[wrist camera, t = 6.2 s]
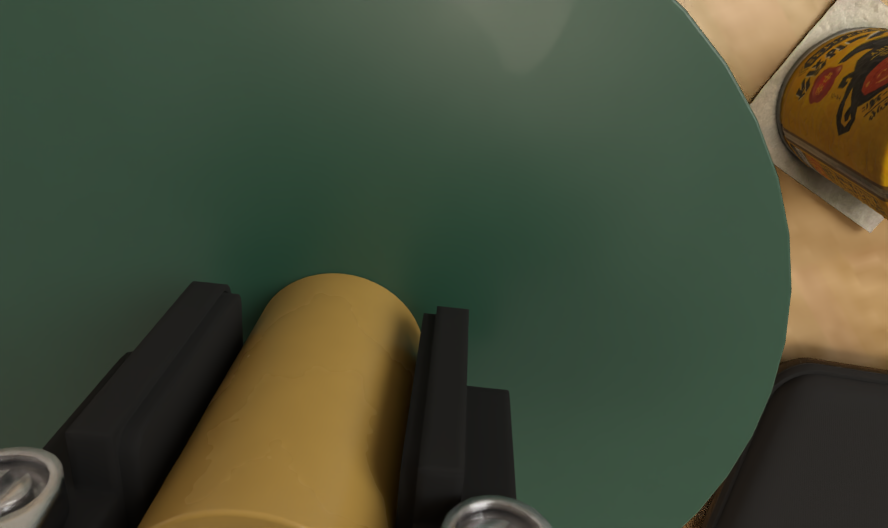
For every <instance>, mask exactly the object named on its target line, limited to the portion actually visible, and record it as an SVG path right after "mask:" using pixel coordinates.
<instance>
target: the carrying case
mask: <svg viewBox="0 0 888 528" xmlns="http://www.w3.org/2000/svg"><path fill="white" fill-rule="evenodd" d="M701 528H888V371H887V370H881V369H875V368H868V367H862V366H856V365H849V364H843V363H837V362H830V361H824V360H818V359H811V358H798V359H793V360H790V361H787V362H784V363H781V364H779V367H778V371H777V375H776V378H775V382H774V386H773V389H772V392H771V394H770V397H769V399H768V401H767V404H766V406H765V408H764V411H763V413H762V415H761V417H760V420H759V422H758V424H757V427H756V429H755V431H754V433H753V436H752V437H751V439H750V441H749V442H748V444H747V445H746V447H745V449H744V450H743V452H742V454H741V455H740V457H739V458H738V460H737V462H736V463H735V465H734V467H733V468H732V470H731V471H730V473H729V475H728V476H727V477H726V479H725V480H724V481H723V482H722V484H721V485H720V486H719V487H718V489H717V490H716V491H715V494H714V496H713V499H712V501H711V504H710V506H709V508H708V511H707V513H706V516H705V518H704V521H703V523H702V525H701Z"/></svg>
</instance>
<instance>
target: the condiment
mask: <svg viewBox="0 0 888 528" xmlns="http://www.w3.org/2000/svg"><path fill="white" fill-rule="evenodd" d="M750 107H751V109H752V110H753V112H754V114H755V116H756V118H757V120H758V122H759V125H760V128H761V131H762V133H763V136H764V139H765V142H766V144H767V147H768V150H769V153H770V155H771V158H772V161H773V164H774V165H775V166H777V167H778V168H780V169H781V170H783V171H784V172H785V173H787V174H788V175H790V176H791V177H792V178H794V179H795V180H797V181H798V182H799V183H801V184H802V185H804V186H805V187H806V188H808V189H809V190H811V191H812V192H813V193H815V194H816V195H818V196H819V197H821V198H822V199H823V200H825V201H826V202H827V203H829V204H830V205H832V206H833V207H835V208H836V209H837V210H839V211H840V212H842V213H843V214H844V215H846V216H847V217H849V218H850V219H852V220H853V221H854V222H856V223H857V224H858V225H860V226H861V227H863V228H864V229H866V230H867V231H868V232H870V233H871V232H872V231H873V230H874V228H875V227H876V226H877V225H878V224H879V223H880V222H881V221H882V220H883V219H884V218H886V219H887V220H888V6H886V5H885V4H884V3H883V2H882V1H881V0H837V1H836V2H835V4H834V5H833V6H832V7H830V9H829V10H828V11H827V13H826V14H825V15H824V16H823V17H822V19H821V20H820V21H819V22H818V23H817V24H816V25H815V26H814V28H813V29H812V30H811V31H810V32H809V33H808V34H807V36H806V37H805V38H804V39H803V41H802V42H801V43H800V44H799V45H798V46H797V47H796V49H795V50H794V51H793V52H792V53H791V55H790V56H789V57H788V58H787V60H786V61H785V62H784V63H783V64H782V66H781V67H780V68H779V69H778V70H777V72H776V73H775V74H774V75H773V76H772V78H771V79H770V80H769V81H768V82H767V84H766V85H765V86H764V87H763V88H762V90H761V91H760V93H759V94H758V95H757V96H756V97H755V99H754V100H753V102H752V103H751V104H750Z"/></svg>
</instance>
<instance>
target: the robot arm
mask: <svg viewBox="0 0 888 528" xmlns="http://www.w3.org/2000/svg"><path fill="white" fill-rule="evenodd" d="M468 329H469V309H463V308H453V307H443V306H437V312H436V314H429V313H424V314H423V320H422V327H421V333H420V340H419V347H418V353H417V360H416V367H415V373H414V380H413V387H412V393H411V400H410V407H409V413H408V420H407V426H406V433H405V440H404V446H403V453H402V461H401V469H400V479H399V489H398V501H397V513H396V525H395V528H552V527H551V525H550V523H549V522H548V520H547V519H545V518H544V517H543V516H542V515H541V514H540V513H539V512H538V511H537V510H536V509H534V508H532V507H531V506H529V505H527V504H525V503H523V502H522V501H519V500H517V498H516V484H515V469H514V454H513V439H512V424H511V409H510V396H509V391H508V390H504V389H494V388H485V387H475V386H467V364H468ZM242 347H243V328H242V303H241V297H240V295H239V294H233V293H231V290H230V287H229V286H228V284H218V283H209V282H199V281H193V282H192V283H190V285H189V286H188V287H187V288H186V289H185V290H184V292H183V293H182V294H181V295H180V296H179V298H178V299H177V300H176V301H175V302H174V303H173V305H172V306H171V307H170V308H169V309H168V311H167V312H166V313H165V314H164V315H163V317H162V318H161V319H160V320H159V321H158V322H157V324H156V325H155V326H154V327H153V328H152V330H151V331H150V332H149V333H148V334H147V335H146V337H145V338H144V339H143V340H142V341H141V343H140V344H139V345H138V346H137V347H136V348H135V350H134V351H132V352H127V353H126V354H124V355H123V356H122V357H121V358H120V359H119V360H118V361H117V363H116V364H115V365H114V366H113V367H112V368H111V369H110V371H109V372H108V373H107V374H106V375H105V376H104V378H103V379H102V380H101V381H100V382H99V383H98V385H97V386H96V387H95V388H94V389H93V390H92V392H91V393H90V394H89V395H88V396H87V397H86V398H85V400H84V401H83V402H82V403H81V404H80V405H79V407H78V408H77V409H76V410H75V411H74V412H73V414H72V415H71V416H70V417H69V418H68V419H67V421H66V422H65V423H64V424H63V425H62V426H61V427H60V429H59V430H58V431H57V432H56V433H55V434H54V436H53V437H52V438H51V439H50V440H49V441H48V443H47V444H46V445H45V446H44V447H43V448H42V449H39V448H32V447H12V448H4V449H0V528H137V527H138V525H139V523H140V522H141V520H142V518H143V517H144V515H145V513H146V511H147V510H148V508H149V506H150V505H151V503H152V501H153V499H154V498H155V496H156V494H157V493H158V491H159V489H160V487H161V486H162V484H163V482H164V481H165V479H166V477H167V475H168V474H169V472H170V470H171V469H172V467H173V465H174V463H175V462H176V460H177V458H178V457H179V455H180V453H181V451H182V450H183V448H184V446H185V445H186V443H187V441H188V439H189V438H190V436H191V434H192V433H193V431H194V429H195V427H196V426H197V424H198V422H199V421H200V419H201V417H202V415H203V414H204V412H205V410H206V409H207V407H208V405H209V403H210V402H211V400H212V398H213V397H214V395H215V393H216V391H217V390H218V388H219V386H220V385H221V383H222V381H223V379H224V378H225V376H226V374H227V373H228V371H229V369H230V367H231V366H232V364H233V362H234V361H235V359H236V357H237V355H238V354H239V352H240V350H241V349H242Z"/></svg>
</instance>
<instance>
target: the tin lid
mask: <svg viewBox="0 0 888 528" xmlns="http://www.w3.org/2000/svg"><path fill="white" fill-rule="evenodd" d="M193 281H199V282H209V283H218V284H228V286H229V287H230V290H231V293H233V294H239V295H240V297H241V303H242V328H243V347H242V349H241V350H240V352H239V354H238V355H237V357H236V359H235V361H234V362H233V364H232V366H231V367H230V369H229V371H228V373H227V374H226V376H225V378H224V379H223V381H222V383H221V385H220V386H219V388H218V390H217V391H216V393H215V395H214V397H213V398H212V400H211V402H210V403H209V405H208V407H207V409H206V410H205V412H204V414H203V415H202V417H201V419H200V421H199V422H198V424H197V426H196V427H195V429H194V431H193V433H192V434H191V436H190V438H189V439H188V441H187V443H186V445H185V446H184V448H183V450H182V451H181V453H180V455H179V457H178V458H177V460H176V462H175V463H174V465H173V467H172V469H171V470H170V472H169V474H168V475H167V477H166V479H165V481H164V482H163V484H162V486H161V487H160V489H159V491H158V493H157V494H156V496H155V498H154V499H153V501H152V503H151V505H150V506H149V508H148V510H147V511H146V513H145V515H144V517H143V518H142V520H141V522H140V523H139V525H138V527H137V528H395V525H396V513H397V501H398V489H399V479H400V469H401V461H402V453H403V446H404V440H405V433H406V426H407V420H408V413H409V407H410V400H411V393H412V387H413V380H414V373H415V367H416V360H417V353H418V347H419V340H420V333H421V327H422V320H423V314H424V313H429V314H436V312H437V306H443V307H453V308H463V309H469V329H468V364H467V386H475V387H485V388H494V389H504V390H508V391H509V396H510V409H511V424H512V439H513V454H514V469H515V484H516V498H517V500H519V501H522V502H523V503H525V504H527V505H529V506H531V507H532V508H534V509H536V510H537V511H538V512H539V513H540V514H541V515H542V516H543V517H544V518H545V519H547V520H548V522H549V523H550V525H551V527H552V528H682V527H683V526H684V525H685V524H686V523H687V522H688V521H689V520H690V519H691V518H693V517H694V516H695V515H696V514H697V513H698V512H699V511H700V509H701V508H702V507H703V506H704V504H705V503H706V502H707V501H708V500H709V498H710V497H711V496H712V495H713V493H714V492H715V491H716V490H717V489H718V487H719V486H720V485H721V484H722V482H723V481H724V480H725V479H726V477H727V476H728V475H729V473H730V471H731V470H732V468H733V467H734V465H735V463H736V462H737V460H738V458H739V457H740V455H741V454H742V452H743V450H744V449H745V447H746V445H747V444H748V442H749V441H750V439H751V437H752V436H753V433H754V431H755V429H756V427H757V424H758V422H759V420H760V417H761V415H762V413H763V411H764V408H765V406H766V404H767V401H768V399H769V397H770V394H771V392H772V389H773V386H774V382H775V378H776V375H777V371H778V367H779V364H780V360H781V356H782V353H783V349H784V345H785V341H786V332H787V323H788V315H789V306H790V298H791V264H790V238H789V229H788V224H787V219H786V214H785V209H784V204H783V199H782V193H781V188H780V183H779V178H778V175H777V172H776V169H775V167H774V164H773V161H772V158H771V155H770V153H769V150H768V147H767V144H766V142H765V139H764V136H763V133H762V131H761V128H760V125H759V122H758V120H757V118H756V116H755V114H754V112H753V110H752V109H751V107H750V105H749V103H748V101H747V99H746V98H745V96H744V94H743V92H742V90H741V89H740V87H739V85H738V83H737V81H736V79H735V78H734V76H733V74H732V72H731V70H730V68H729V67H728V65H727V63H726V62H725V60H724V59H723V58H722V56H721V55H720V54H719V53H718V51H717V50H716V49H715V47H714V46H713V45H712V43H711V42H710V41H709V39H708V38H707V37H706V36H705V34H704V33H703V32H702V30H701V29H700V28H699V26H698V25H697V24H696V22H695V21H694V20H693V19H692V17H691V16H690V15H689V13H688V12H687V11H686V9H685V8H684V7H683V6H682V5H680V4H679V3H678V2H677V1H676V0H0V449H4V448H12V447H32V448H39V449H42V448H43V447H44V446H45V445H46V444H47V443H48V441H49V440H50V439H51V438H52V437H53V436H54V434H55V433H56V432H57V431H58V430H59V429H60V427H61V426H62V425H63V424H64V423H65V422H66V421H67V419H68V418H69V417H70V416H71V415H72V414H73V412H74V411H75V410H76V409H77V408H78V407H79V405H80V404H81V403H82V402H83V401H84V400H85V398H86V397H87V396H88V395H89V394H90V393H91V392H92V390H93V389H94V388H95V387H96V386H97V385H98V383H99V382H100V381H101V380H102V379H103V378H104V376H105V375H106V374H107V373H108V372H109V371H110V369H111V368H112V367H113V366H114V365H115V364H116V363H117V361H118V360H119V359H120V358H121V357H122V356H123V355H124V354H126V353H127V352H132V351H134V350H135V348H136V347H137V346H138V345H139V344H140V343H141V341H142V340H143V339H144V338H145V337H146V335H147V334H148V333H149V332H150V331H151V330H152V328H153V327H154V326H155V325H156V324H157V322H158V321H159V320H160V319H161V318H162V317H163V315H164V314H165V313H166V312H167V311H168V309H169V308H170V307H171V306H172V305H173V303H174V302H175V301H176V300H177V299H178V298H179V296H180V295H181V294H182V293H183V292H184V290H185V289H186V288H187V287H188V286H189V285H190V283H192V282H193Z"/></svg>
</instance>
